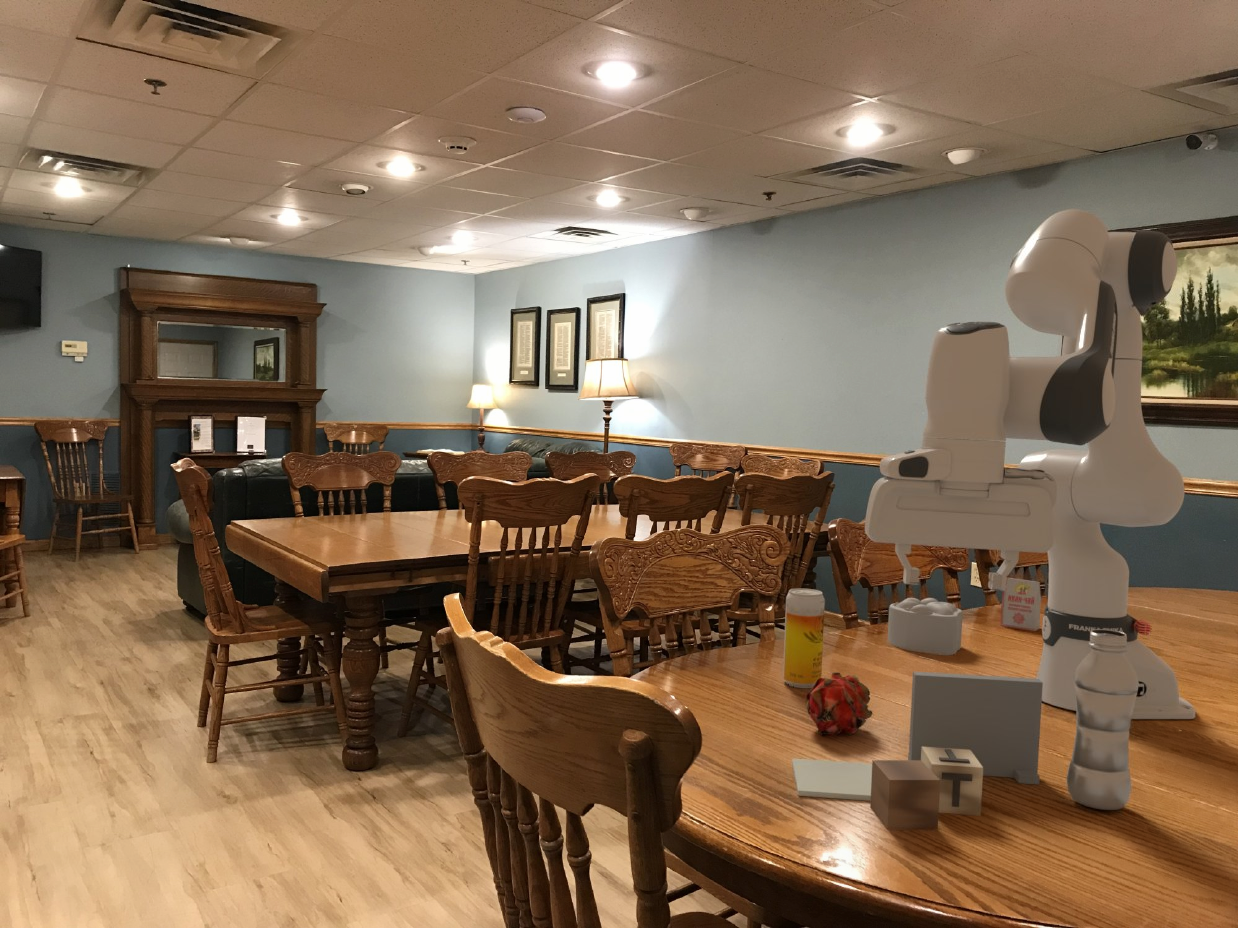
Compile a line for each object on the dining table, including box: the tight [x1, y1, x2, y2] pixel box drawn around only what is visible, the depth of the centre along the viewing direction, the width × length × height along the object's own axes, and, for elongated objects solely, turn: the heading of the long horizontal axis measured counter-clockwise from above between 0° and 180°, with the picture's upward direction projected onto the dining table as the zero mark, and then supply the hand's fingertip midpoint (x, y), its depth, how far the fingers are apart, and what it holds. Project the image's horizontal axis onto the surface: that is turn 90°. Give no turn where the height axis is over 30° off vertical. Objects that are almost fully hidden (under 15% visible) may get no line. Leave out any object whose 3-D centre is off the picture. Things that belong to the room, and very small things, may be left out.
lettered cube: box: [921, 747, 984, 816], centre depth 108 cm, size 6×6×6 cm
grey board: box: [907, 671, 1043, 785], centre depth 117 cm, size 15×5×12 cm, turn 84°
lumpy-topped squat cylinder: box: [887, 597, 963, 656], centre depth 180 cm, size 10×13×9 cm
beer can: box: [782, 588, 826, 689], centre depth 152 cm, size 6×6×15 cm
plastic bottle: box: [1065, 629, 1139, 811], centre depth 108 cm, size 6×7×20 cm
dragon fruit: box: [805, 671, 874, 736], centre depth 131 cm, size 8×8×12 cm
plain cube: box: [869, 759, 940, 831], centre depth 103 cm, size 6×6×6 cm
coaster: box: [791, 757, 872, 802], centre depth 113 cm, size 10×10×1 cm
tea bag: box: [999, 577, 1042, 632], centre depth 198 cm, size 4×7×10 cm, turn 51°
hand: (953, 586), depth 108 cm, fingers open, 8 cm apart
